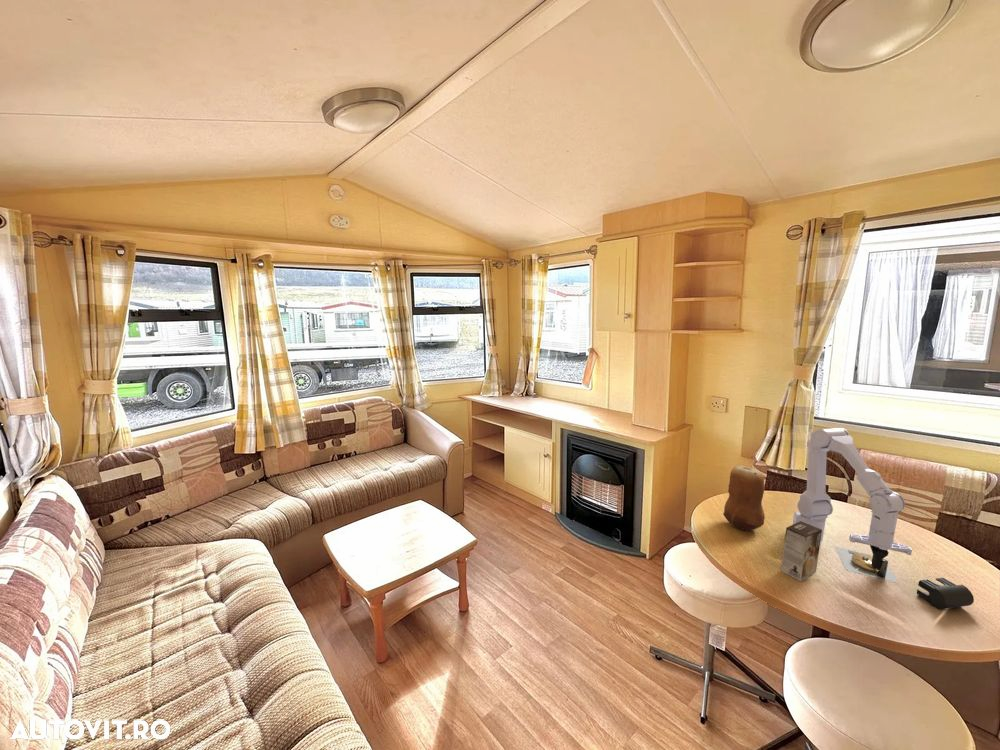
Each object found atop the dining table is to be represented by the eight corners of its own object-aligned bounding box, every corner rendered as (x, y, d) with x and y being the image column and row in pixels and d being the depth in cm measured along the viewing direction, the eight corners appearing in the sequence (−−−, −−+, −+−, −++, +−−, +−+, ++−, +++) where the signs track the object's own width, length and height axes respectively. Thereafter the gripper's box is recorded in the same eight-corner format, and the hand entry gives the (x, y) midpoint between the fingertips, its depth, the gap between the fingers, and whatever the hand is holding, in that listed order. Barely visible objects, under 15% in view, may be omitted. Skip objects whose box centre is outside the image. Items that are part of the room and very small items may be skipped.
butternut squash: (751, 519, 165) (757, 462, 161) (769, 537, 152) (777, 476, 148) (716, 517, 166) (722, 461, 162) (732, 536, 153) (738, 475, 149)
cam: (845, 556, 138) (847, 542, 138) (870, 558, 138) (872, 543, 137) (870, 577, 128) (873, 561, 127) (897, 578, 127) (900, 563, 127)
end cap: (942, 616, 114) (947, 595, 113) (914, 598, 121) (918, 578, 119) (971, 612, 115) (976, 591, 114) (941, 595, 122) (946, 575, 121)
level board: (844, 572, 132) (845, 569, 132) (834, 548, 145) (835, 545, 145) (897, 586, 126) (898, 582, 126) (882, 559, 139) (883, 556, 138)
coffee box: (795, 562, 137) (800, 520, 134) (816, 573, 132) (823, 529, 129) (779, 571, 133) (785, 527, 130) (801, 582, 127) (808, 536, 125)
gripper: (855, 528, 127) (849, 567, 129) (918, 541, 120) (910, 582, 122) (850, 518, 133) (844, 555, 136) (909, 530, 126) (902, 569, 128)
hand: (875, 567), depth 129 cm, fingers closed, pressing on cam
